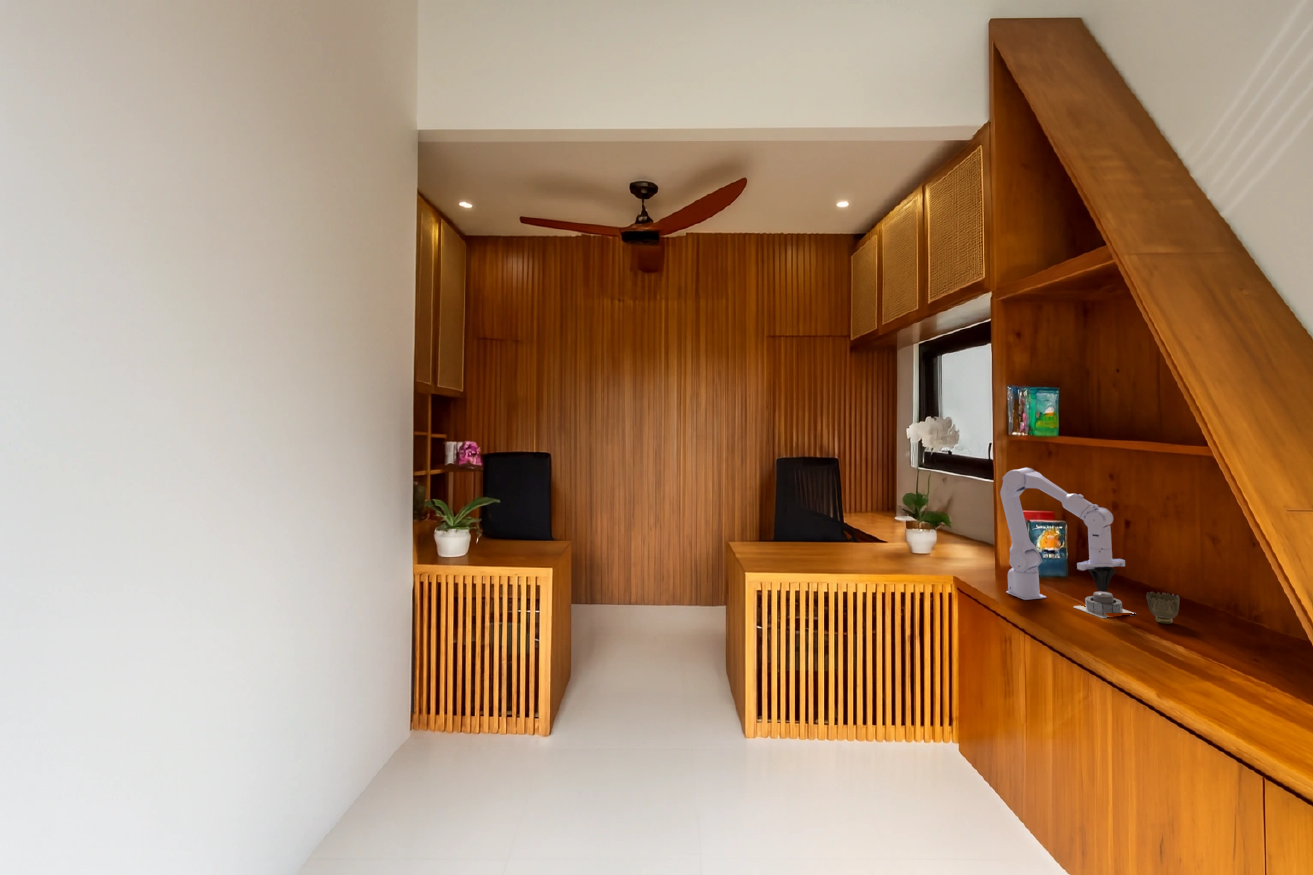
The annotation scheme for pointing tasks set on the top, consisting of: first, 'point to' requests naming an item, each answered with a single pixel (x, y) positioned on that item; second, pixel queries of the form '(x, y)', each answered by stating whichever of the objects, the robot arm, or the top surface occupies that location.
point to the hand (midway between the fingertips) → (1102, 590)
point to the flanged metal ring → (1101, 607)
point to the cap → (1103, 597)
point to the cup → (1163, 606)
